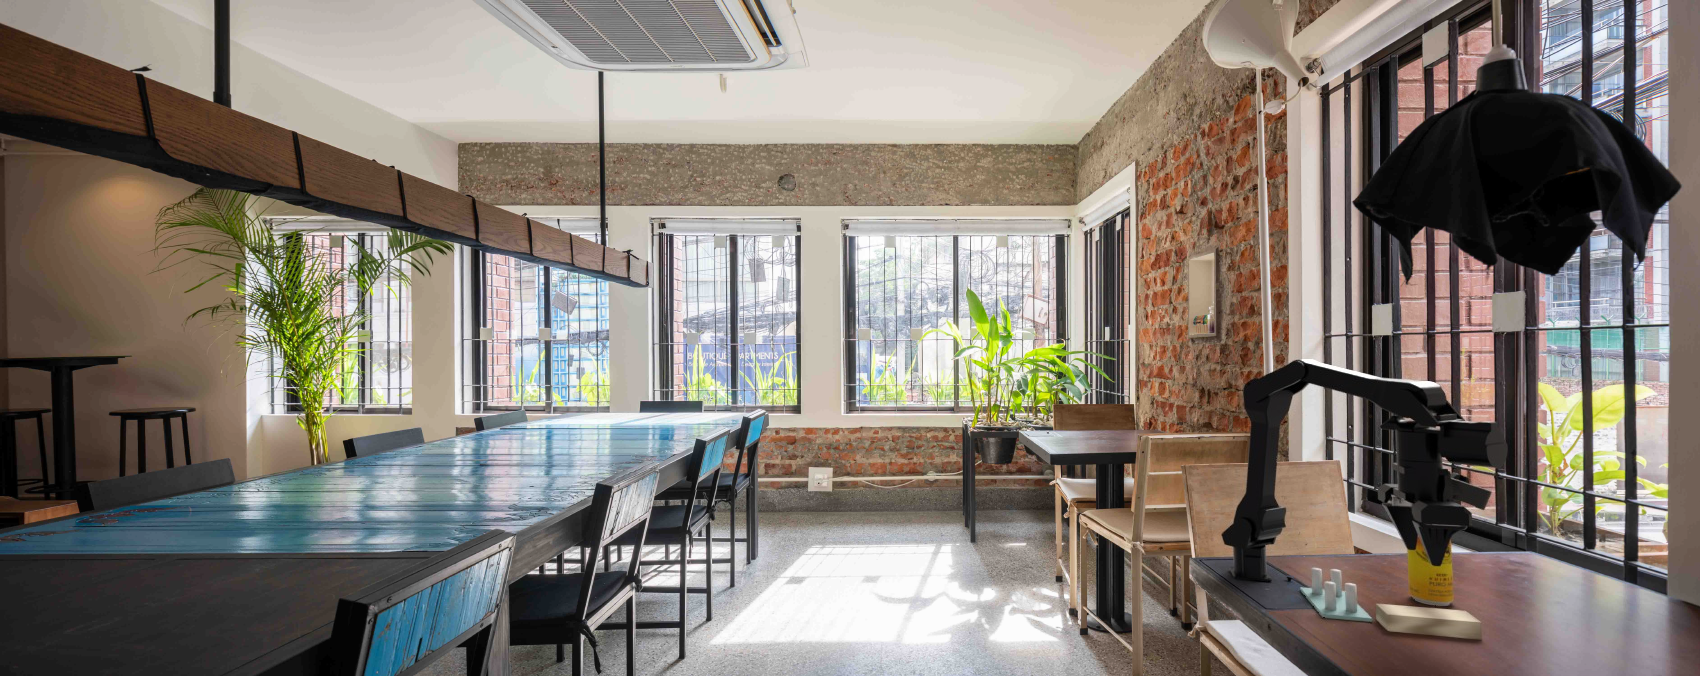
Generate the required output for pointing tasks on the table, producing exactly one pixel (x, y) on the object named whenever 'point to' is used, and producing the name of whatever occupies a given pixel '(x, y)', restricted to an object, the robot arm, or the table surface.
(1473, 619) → the board
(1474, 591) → the table surface
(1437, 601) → the beer can
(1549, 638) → the table surface
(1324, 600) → the peg stand
